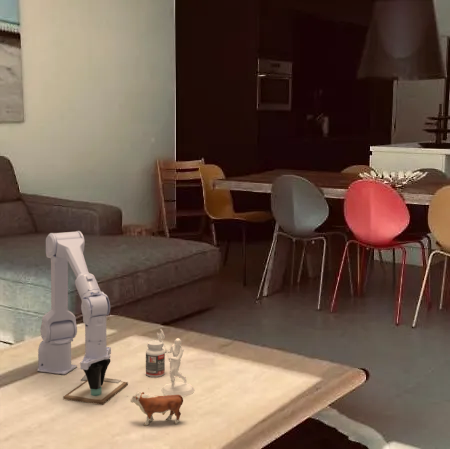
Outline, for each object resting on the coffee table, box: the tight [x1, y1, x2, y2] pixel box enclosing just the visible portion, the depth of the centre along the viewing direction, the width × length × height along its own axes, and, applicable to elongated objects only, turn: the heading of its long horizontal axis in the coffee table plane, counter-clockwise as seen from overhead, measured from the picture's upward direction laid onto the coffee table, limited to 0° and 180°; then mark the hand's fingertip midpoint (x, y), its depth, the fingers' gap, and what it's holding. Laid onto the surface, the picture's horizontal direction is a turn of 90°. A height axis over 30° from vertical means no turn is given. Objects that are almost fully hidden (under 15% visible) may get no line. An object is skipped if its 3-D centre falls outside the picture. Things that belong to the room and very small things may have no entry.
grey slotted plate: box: [80, 373, 87, 382], centre depth 224 cm, size 4×6×1 cm, turn 173°
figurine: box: [156, 328, 195, 397], centre depth 213 cm, size 10×10×18 cm
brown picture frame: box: [62, 377, 129, 406], centre depth 212 cm, size 12×16×1 cm
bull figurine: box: [130, 391, 184, 427], centre depth 192 cm, size 4×13×8 cm, turn 95°
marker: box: [91, 364, 102, 396], centre depth 207 cm, size 3×3×8 cm
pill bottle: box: [145, 339, 166, 378], centre depth 227 cm, size 6×6×10 cm
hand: (96, 386), depth 207 cm, fingers closed on marker, 2 cm apart
